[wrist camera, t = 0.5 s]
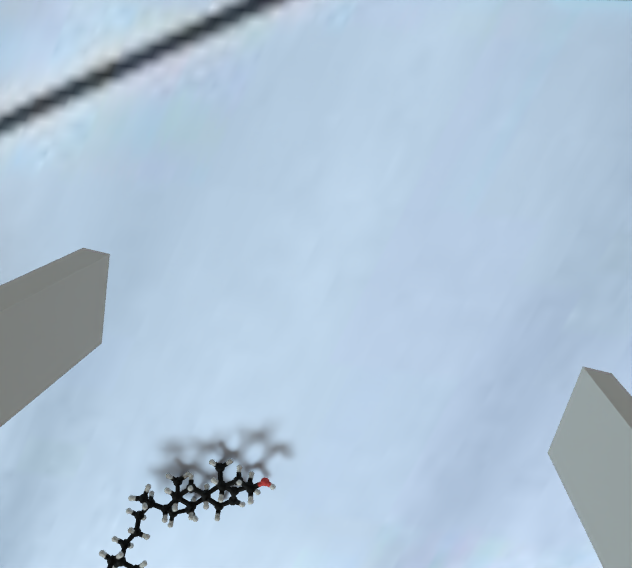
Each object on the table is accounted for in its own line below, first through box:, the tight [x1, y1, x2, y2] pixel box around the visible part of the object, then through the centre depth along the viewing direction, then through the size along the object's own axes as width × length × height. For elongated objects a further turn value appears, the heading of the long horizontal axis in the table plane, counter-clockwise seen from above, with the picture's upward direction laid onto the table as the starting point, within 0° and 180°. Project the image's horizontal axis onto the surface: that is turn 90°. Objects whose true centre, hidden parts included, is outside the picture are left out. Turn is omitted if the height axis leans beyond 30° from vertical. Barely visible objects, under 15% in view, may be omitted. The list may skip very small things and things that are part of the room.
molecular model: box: [99, 459, 276, 568], centre depth 47 cm, size 6×15×8 cm, turn 117°
